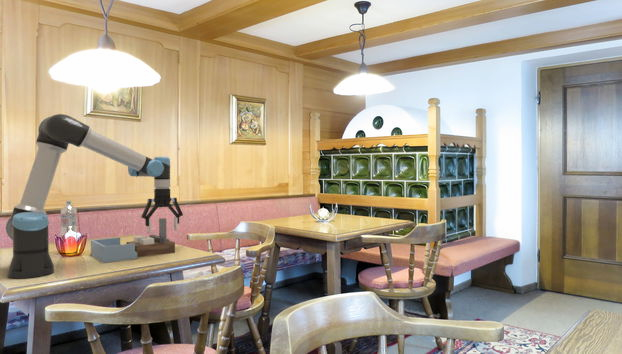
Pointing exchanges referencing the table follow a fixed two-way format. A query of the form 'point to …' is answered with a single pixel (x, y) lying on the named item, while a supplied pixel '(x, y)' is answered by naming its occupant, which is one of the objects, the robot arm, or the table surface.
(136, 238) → the tile
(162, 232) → the scraper
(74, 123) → the robot arm
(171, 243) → the brown wooden block
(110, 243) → the box
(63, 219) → the water bottle
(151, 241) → the tile
